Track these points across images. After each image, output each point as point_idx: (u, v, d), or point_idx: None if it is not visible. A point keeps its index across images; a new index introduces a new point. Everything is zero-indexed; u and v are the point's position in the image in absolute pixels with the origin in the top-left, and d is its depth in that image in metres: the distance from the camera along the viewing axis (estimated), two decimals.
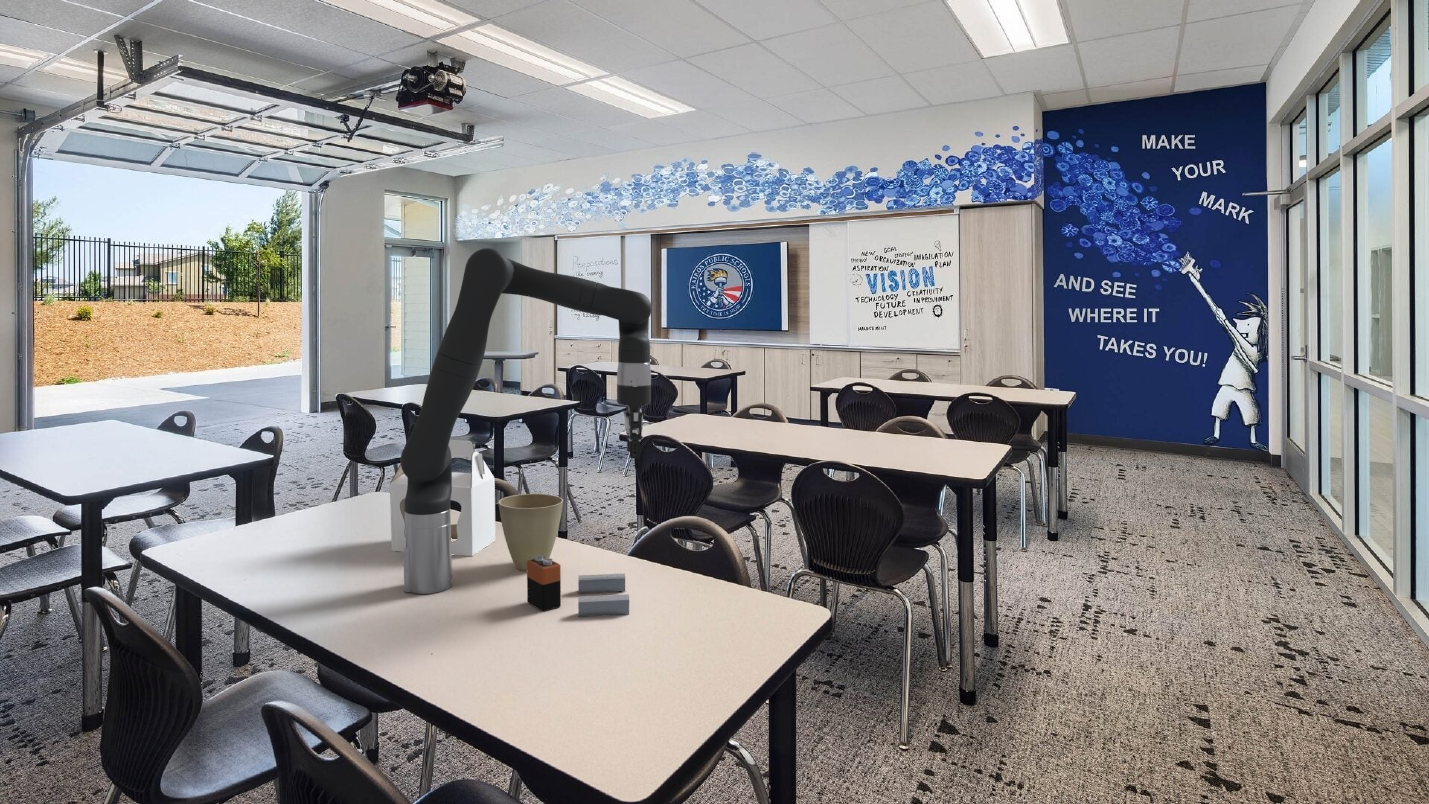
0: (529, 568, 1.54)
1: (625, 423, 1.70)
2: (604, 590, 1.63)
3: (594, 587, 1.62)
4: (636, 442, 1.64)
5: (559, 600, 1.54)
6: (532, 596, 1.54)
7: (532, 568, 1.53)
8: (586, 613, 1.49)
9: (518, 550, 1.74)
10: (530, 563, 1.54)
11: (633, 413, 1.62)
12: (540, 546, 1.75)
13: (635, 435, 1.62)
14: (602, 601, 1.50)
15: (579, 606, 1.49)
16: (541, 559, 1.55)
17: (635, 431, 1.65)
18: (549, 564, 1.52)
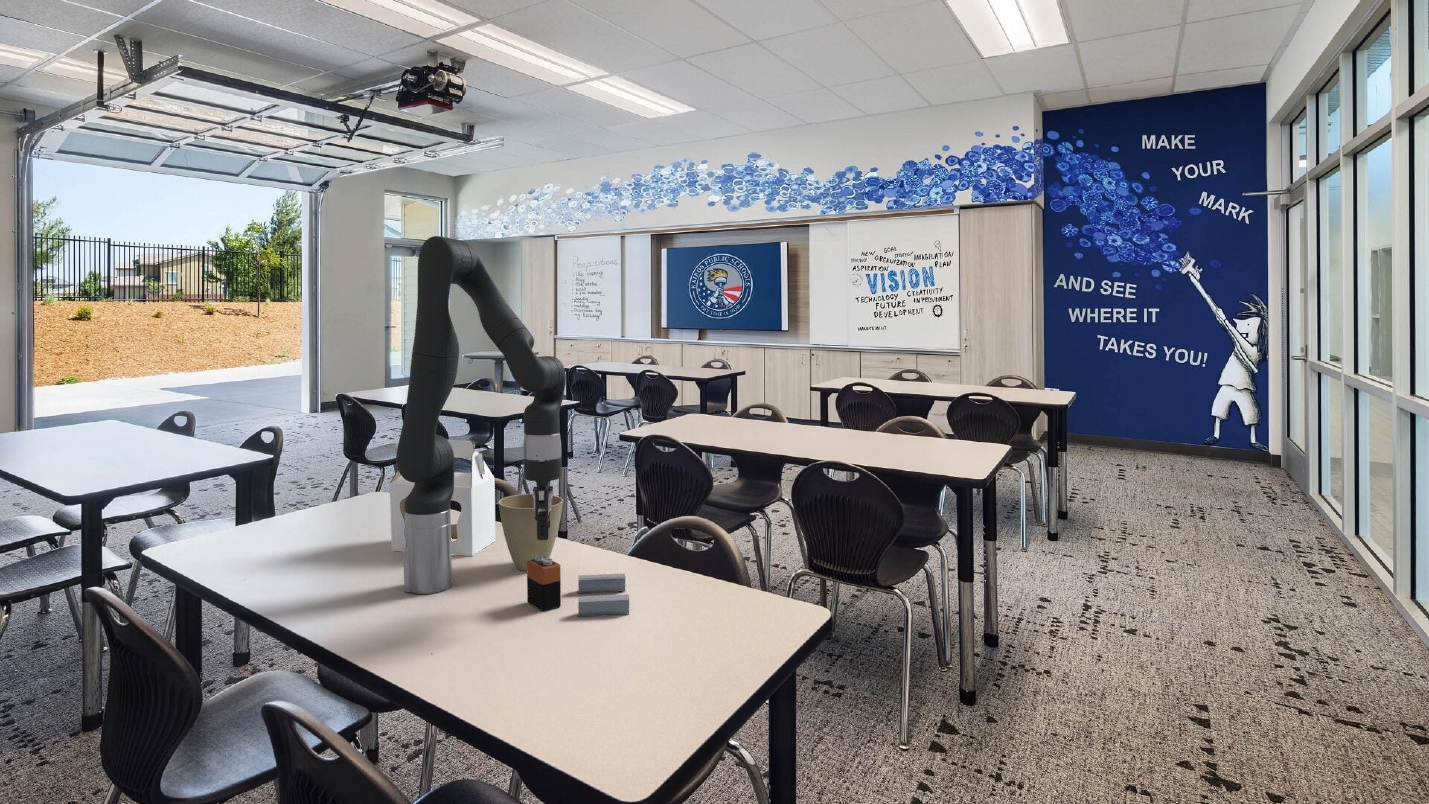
0: (529, 568, 1.54)
1: None
2: (604, 590, 1.63)
3: (594, 587, 1.62)
4: (543, 522, 1.48)
5: (559, 600, 1.54)
6: (532, 596, 1.54)
7: (532, 568, 1.53)
8: (586, 613, 1.49)
9: (518, 550, 1.74)
10: (530, 563, 1.54)
11: (538, 492, 1.46)
12: (540, 546, 1.75)
13: (541, 516, 1.47)
14: (602, 601, 1.50)
15: (579, 606, 1.49)
16: (541, 559, 1.55)
17: (543, 510, 1.50)
18: (549, 564, 1.52)
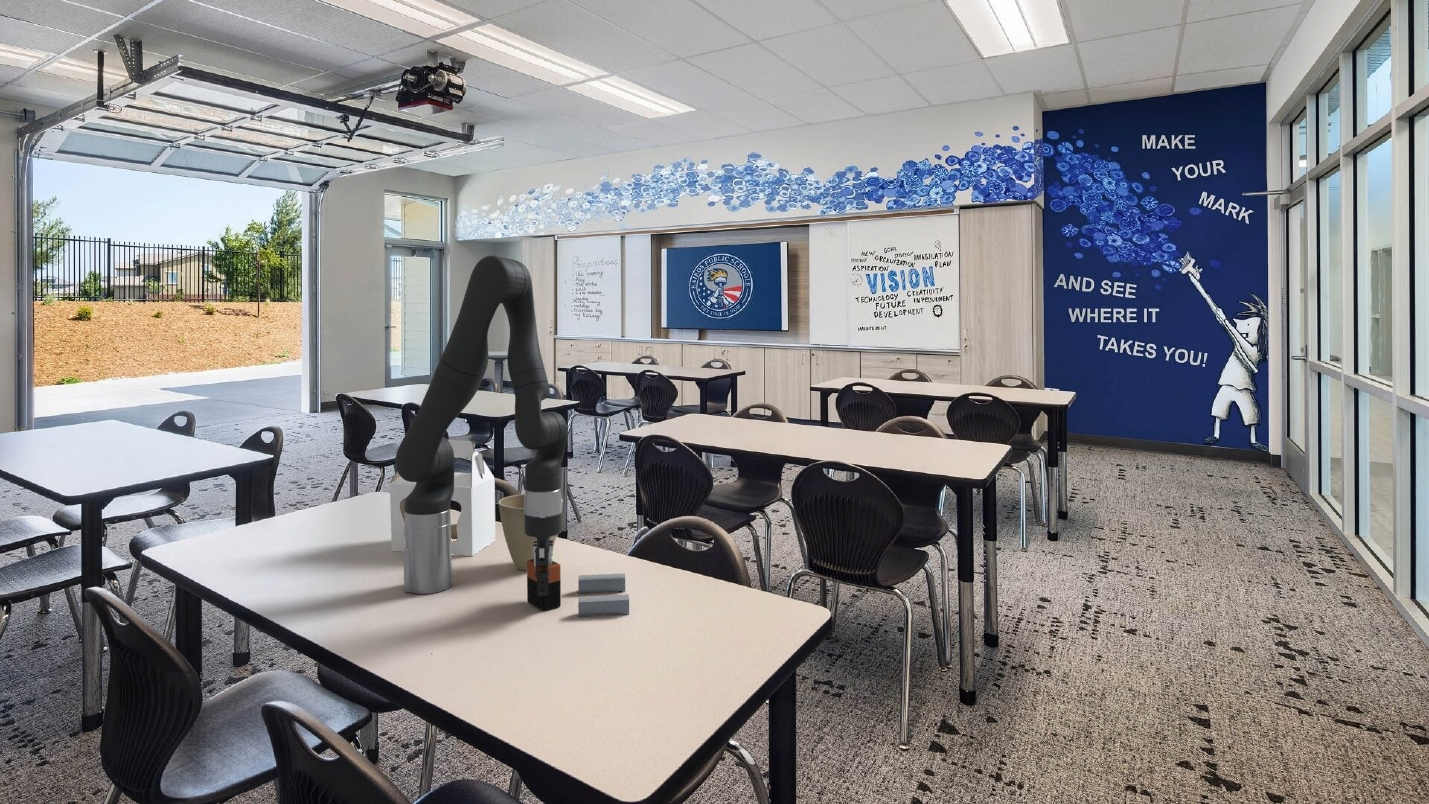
0: (529, 567, 1.54)
1: None
2: (604, 590, 1.63)
3: (594, 587, 1.62)
4: (543, 579, 1.50)
5: (559, 600, 1.54)
6: (532, 596, 1.54)
7: (532, 568, 1.54)
8: (586, 613, 1.49)
9: (518, 550, 1.74)
10: (530, 563, 1.54)
11: (538, 549, 1.47)
12: None
13: (541, 573, 1.48)
14: (602, 601, 1.50)
15: (579, 606, 1.49)
16: None
17: (543, 565, 1.51)
18: None
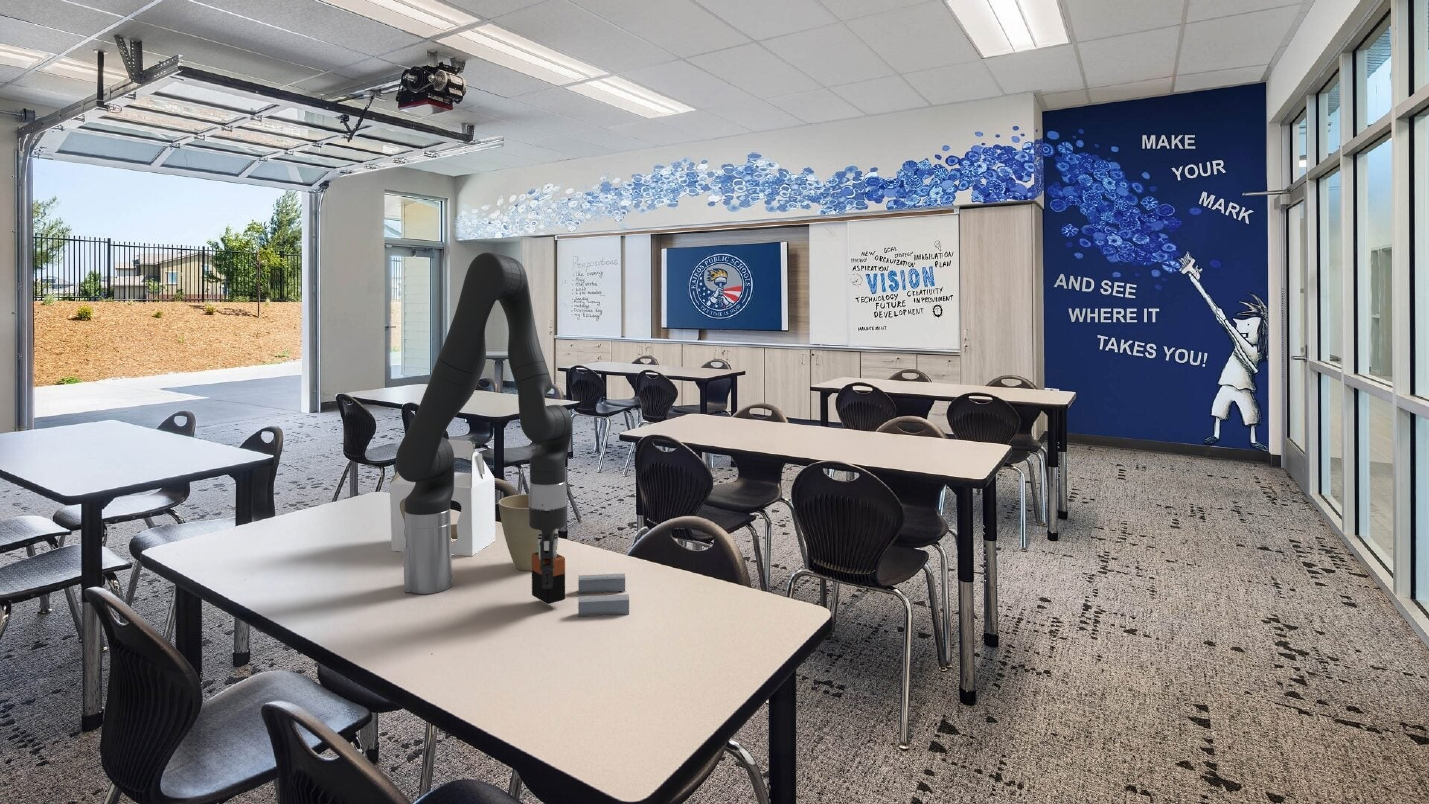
0: (534, 560, 1.54)
1: None
2: (604, 590, 1.63)
3: (594, 587, 1.62)
4: (548, 572, 1.49)
5: (564, 593, 1.54)
6: (537, 589, 1.54)
7: (537, 561, 1.53)
8: (586, 613, 1.49)
9: (518, 550, 1.74)
10: (534, 556, 1.54)
11: (543, 542, 1.47)
12: None
13: (546, 566, 1.48)
14: (602, 601, 1.50)
15: (579, 606, 1.49)
16: None
17: (548, 558, 1.51)
18: None
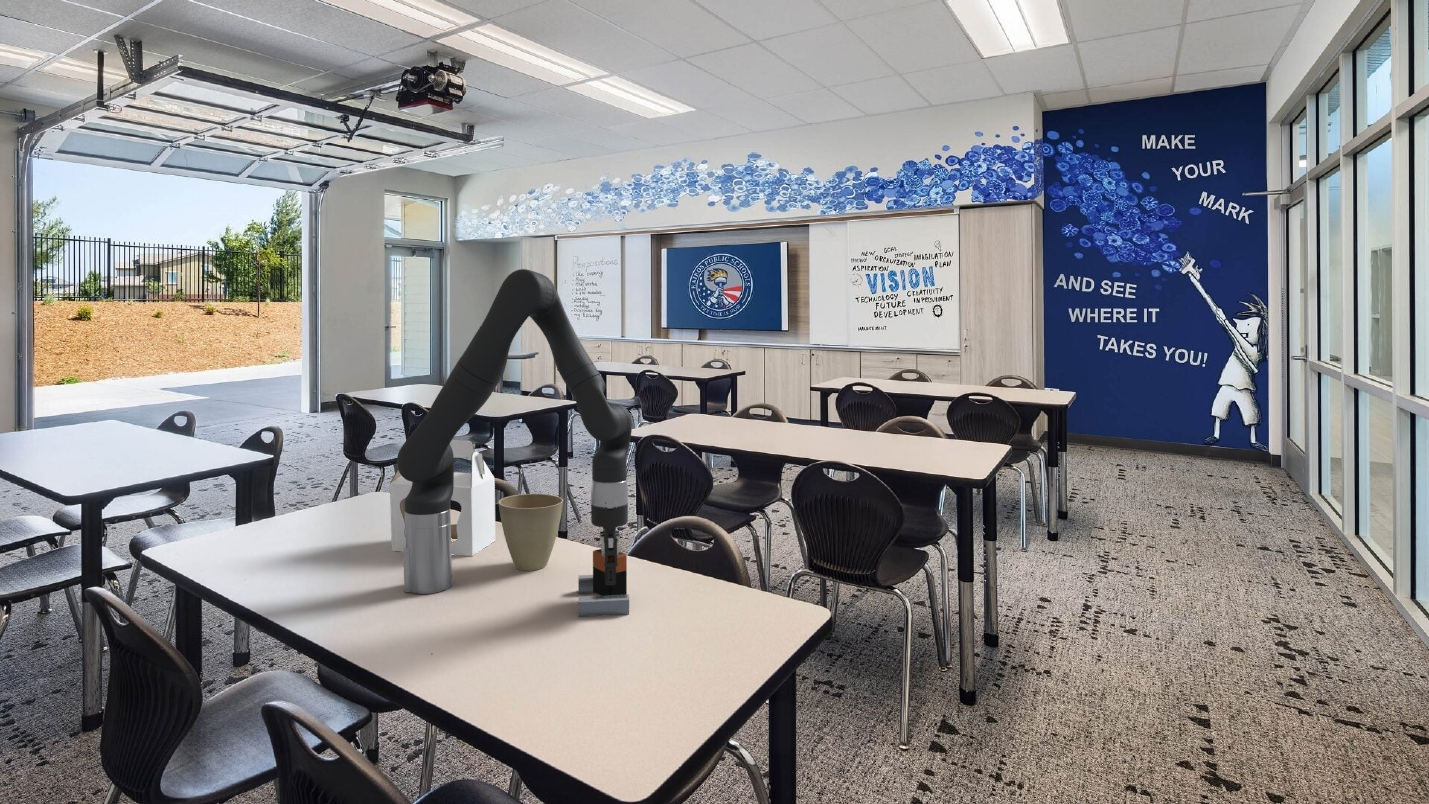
0: (596, 558, 1.56)
1: (601, 543, 1.58)
2: None
3: None
4: (612, 569, 1.52)
5: (625, 589, 1.56)
6: (598, 586, 1.56)
7: (599, 558, 1.56)
8: (586, 613, 1.49)
9: (518, 550, 1.74)
10: (596, 553, 1.56)
11: (608, 539, 1.49)
12: (540, 546, 1.75)
13: (610, 563, 1.50)
14: (602, 601, 1.50)
15: (579, 606, 1.49)
16: None
17: (611, 555, 1.53)
18: None
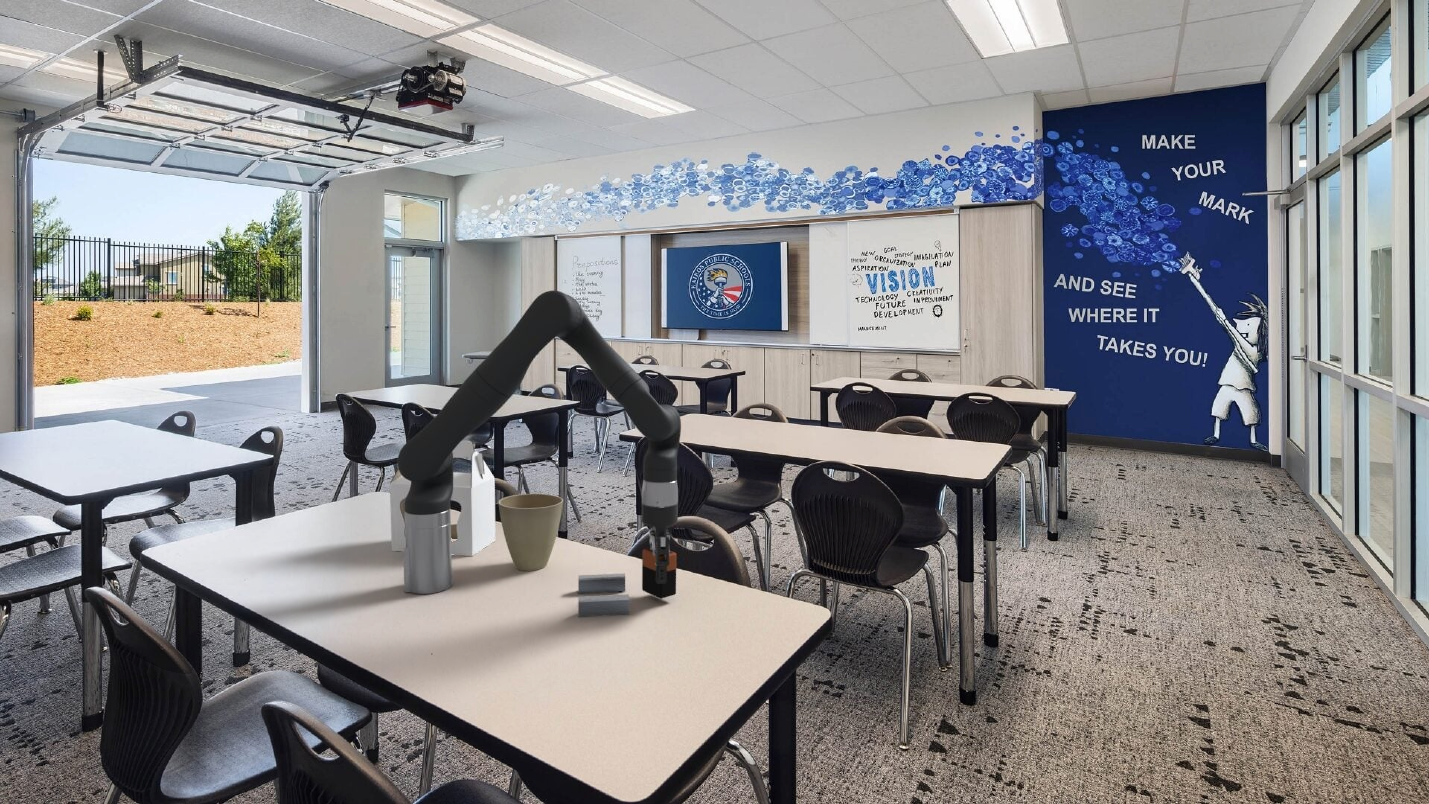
0: (645, 556, 1.58)
1: (650, 542, 1.60)
2: (604, 590, 1.63)
3: (594, 587, 1.62)
4: (663, 567, 1.54)
5: (675, 588, 1.58)
6: (648, 584, 1.58)
7: (649, 557, 1.58)
8: (586, 613, 1.49)
9: (518, 550, 1.74)
10: (646, 552, 1.58)
11: (660, 538, 1.51)
12: (540, 546, 1.75)
13: (662, 561, 1.52)
14: (602, 601, 1.50)
15: (579, 606, 1.49)
16: None
17: None
18: None
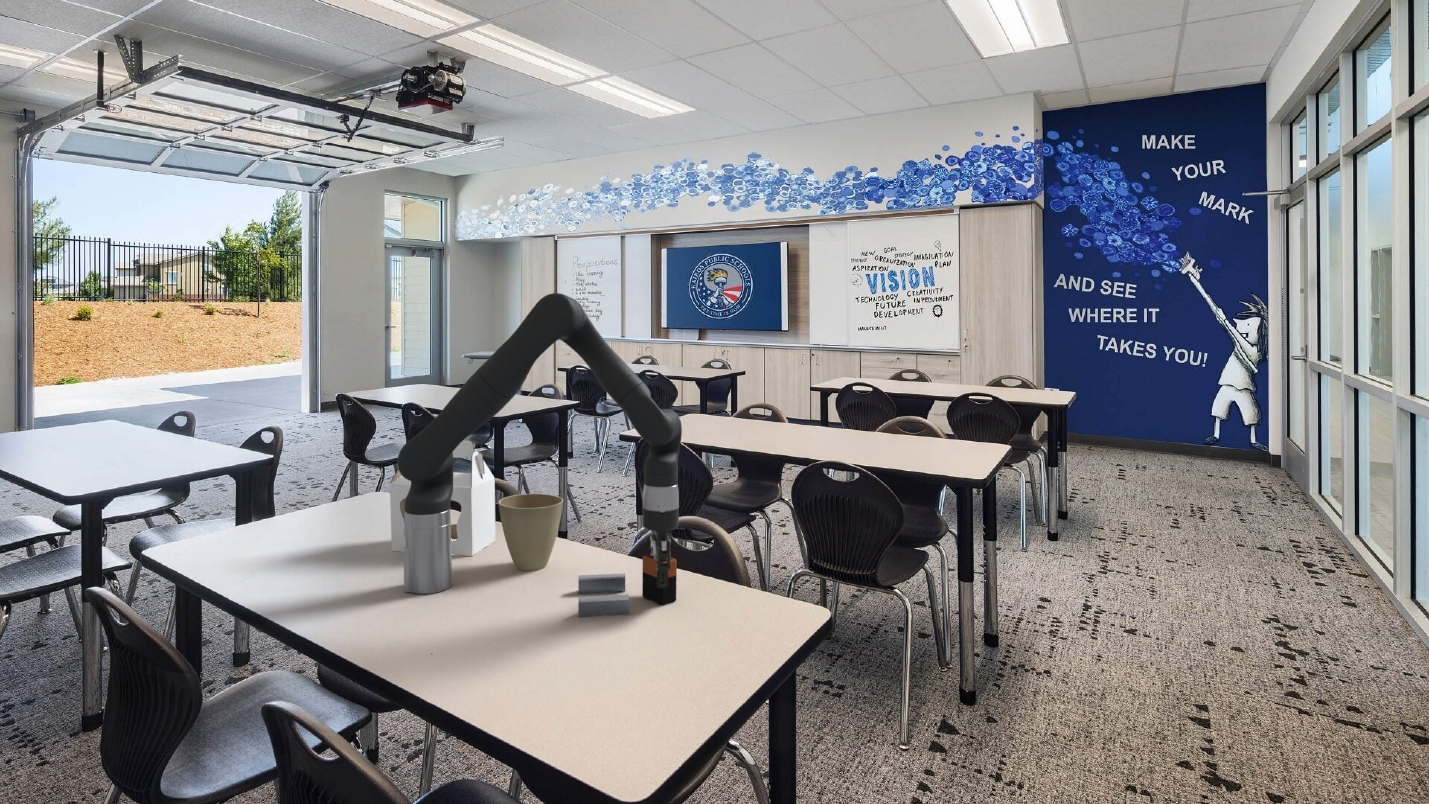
0: (646, 563, 1.59)
1: (651, 546, 1.60)
2: (604, 590, 1.63)
3: (594, 587, 1.62)
4: (664, 571, 1.54)
5: (675, 594, 1.58)
6: (648, 591, 1.58)
7: (649, 563, 1.58)
8: (586, 613, 1.49)
9: (518, 550, 1.74)
10: (646, 558, 1.58)
11: (661, 542, 1.51)
12: (540, 546, 1.75)
13: (663, 565, 1.52)
14: (602, 601, 1.50)
15: (579, 606, 1.49)
16: None
17: (663, 558, 1.55)
18: None
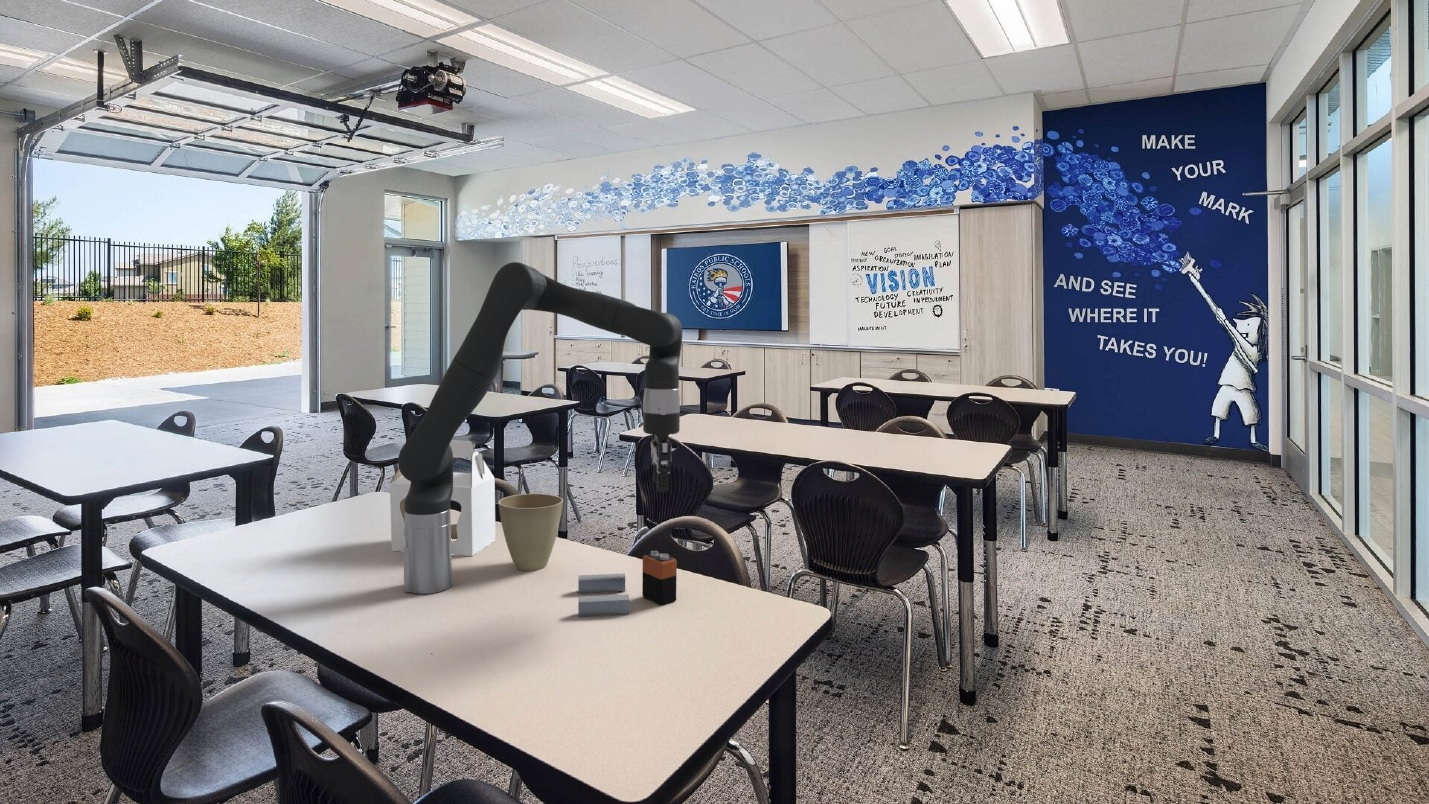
0: (646, 563, 1.59)
1: (652, 453, 1.58)
2: (604, 590, 1.63)
3: (594, 587, 1.62)
4: (665, 475, 1.52)
5: (675, 594, 1.58)
6: (648, 591, 1.58)
7: (649, 563, 1.58)
8: (586, 613, 1.49)
9: (518, 550, 1.74)
10: (646, 558, 1.58)
11: (662, 444, 1.49)
12: (540, 546, 1.75)
13: (664, 467, 1.50)
14: (602, 601, 1.50)
15: (579, 606, 1.49)
16: (656, 554, 1.59)
17: (663, 462, 1.53)
18: (666, 559, 1.57)
